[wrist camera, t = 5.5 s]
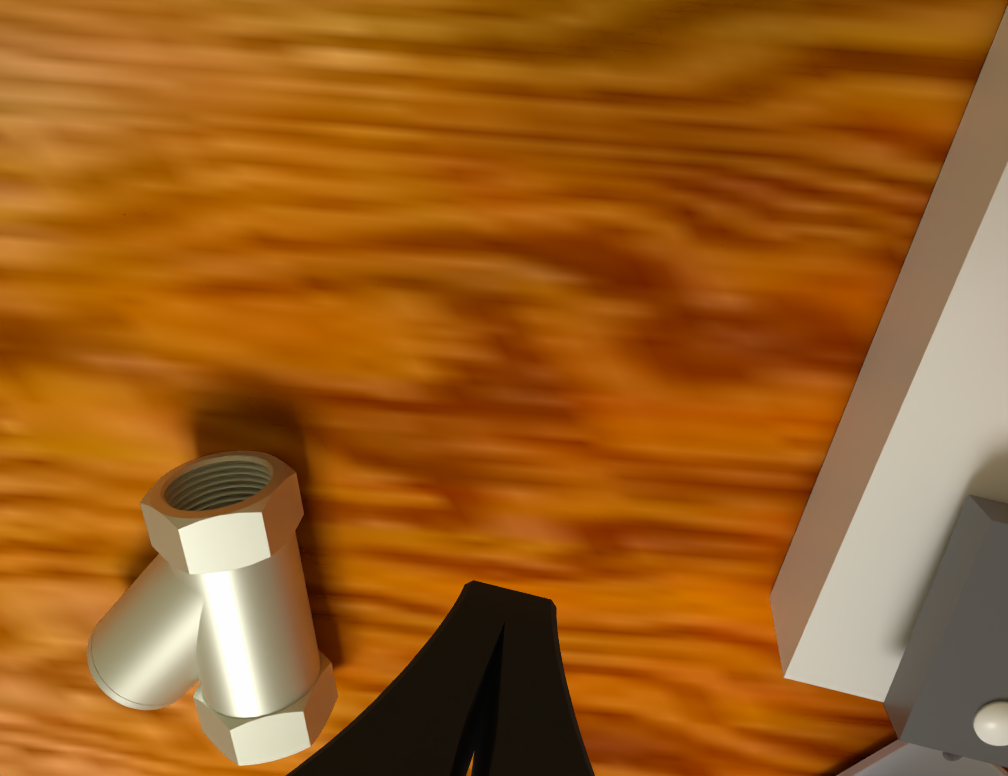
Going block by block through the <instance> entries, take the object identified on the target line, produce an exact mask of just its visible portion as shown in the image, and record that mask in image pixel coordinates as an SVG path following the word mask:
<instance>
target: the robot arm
mask: <svg viewBox="0 0 1008 776" xmlns="http://www.w3.org/2000/svg"><path fill="white" fill-rule="evenodd" d="M474 750H475V751H474ZM473 753H474V758H473V766H472V773H471V776H595V775H594V772H593V769H592V766H591V764H590V761H589V758H588V755H587V752H586V749H585V746H584V743H583V740H582V737H581V734H580V730H579V727H578V724H577V720H576V717H575V713H574V709H573V705H572V701H571V698H570V694H569V690H568V686H567V682H566V677H565V673H564V668H563V663H562V657H561V652H560V646H559V639H558V631H557V618H556V606H555V605H554V603H553V602H552V600H551V599H547V598H543V597H539V596H535V595H530V594H526V593H522V592H518V591H514V590H510V589H506V588H502V587H498V586H494V585H490V584H486V583H482V582H478V581H474V580H473V581H471V582H469V583H467V584H465V585H464V588H463V590H462V592H461V594H460V596H459V597H458V599H457V601H456V602H455V604H454V606H453V607H452V609H451V610H450V612H449V613H448V615H447V616H446V618H445V619H444V621H443V622H442V623H441V625H440V626H439V627H438V629H437V630H436V631H435V633H434V634H433V635H432V637H431V638H430V639H429V640H428V642H427V643H426V644H425V645H424V646H423V648H422V649H421V650H420V651H419V652H418V654H417V655H416V656H415V657H414V659H413V660H412V661H411V662H410V663H409V664H408V666H407V667H406V668H405V669H404V670H403V671H402V672H401V673H400V674H399V675H398V676H397V678H396V679H395V680H394V681H393V682H392V683H391V684H390V685H389V686H388V687H387V688H386V689H385V690H384V691H383V692H382V693H381V694H380V695H379V696H378V697H377V699H376V700H375V701H374V702H373V703H372V704H371V705H369V706H368V707H367V708H366V709H365V710H364V711H363V712H362V713H361V714H360V715H359V716H358V717H357V718H356V719H355V720H354V721H352V722H351V723H350V724H349V725H348V726H347V727H346V728H345V729H343V730H342V731H341V732H340V733H339V734H338V735H337V736H335V737H334V738H333V739H332V740H331V741H330V742H328V743H327V744H326V745H325V746H323V747H322V748H321V749H320V750H318V751H317V752H316V753H315V754H313V755H312V756H311V757H309V758H308V759H307V760H306V761H304V762H303V763H302V764H301V765H299V766H298V767H297V768H295V769H294V770H293V771H291V772H290V773H289V774H287V775H286V776H466V774H467V771H468V768H469V765H470V762H471V759H472V756H473ZM836 776H1008V772H1007V771H1006V770H1005V769H1003V768H1002V767H1001V766H999V765H995V764H991V763H987V762H983V761H979V760H975V759H971V758H967V757H963V756H959V755H955V754H951V753H947V752H943V751H939V750H935V749H931V748H927V747H923V746H919V745H915V744H911V743H907V742H903V741H899V739H898V740H896V741H894V742H893V743H891V744H889V745H888V746H886V747H884V748H882V749H881V750H879V751H877V752H876V753H874V754H872V755H870V756H869V757H867V758H865V759H864V760H862V761H860V762H859V763H857V764H855V765H853V766H852V767H850V768H848V769H847V770H845V771H843V772H841V773H840V774H838V775H836Z"/></svg>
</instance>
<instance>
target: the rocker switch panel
mask: <svg viewBox="0 0 1008 776" xmlns="http://www.w3.org/2000/svg"><path fill="white" fill-rule="evenodd" d="M968 495H973V496H978V497H982V498H986V499H991V500H995V501H999V502H1003V503H1008V6H1007V8H1006V11H1005V13H1004V16H1003V18H1002V20H1001V23H1000V25H999V28H998V30H997V33H996V35H995V38H994V40H993V43H992V45H991V48H990V50H989V53H988V55H987V58H986V60H985V63H984V65H983V68H982V70H981V73H980V75H979V78H978V80H977V83H976V85H975V88H974V90H973V93H972V95H971V98H970V100H969V102H968V105H967V107H966V110H965V112H964V115H963V117H962V120H961V122H960V125H959V127H958V130H957V132H956V135H955V137H954V140H953V142H952V145H951V147H950V150H949V152H948V155H947V157H946V160H945V162H944V165H943V167H942V170H941V172H940V175H939V177H938V180H937V182H936V184H935V187H934V189H933V192H932V194H931V197H930V199H929V202H928V204H927V207H926V209H925V212H924V214H923V217H922V219H921V222H920V224H919V227H918V229H917V232H916V234H915V237H914V239H913V242H912V244H911V247H910V249H909V252H908V254H907V257H906V259H905V261H904V264H903V266H902V269H901V271H900V274H899V276H898V279H897V281H896V284H895V286H894V289H893V291H892V294H891V296H890V299H889V301H888V304H887V306H886V309H885V311H884V314H883V316H882V319H881V321H880V324H879V326H878V329H877V331H876V334H875V336H874V339H873V341H872V343H871V346H870V348H869V351H868V353H867V356H866V358H865V361H864V363H863V366H862V368H861V371H860V373H859V376H858V378H857V381H856V383H855V386H854V388H853V391H852V393H851V396H850V398H849V401H848V403H847V406H846V408H845V411H844V413H843V416H842V418H841V421H840V423H839V425H838V428H837V430H836V433H835V435H834V438H833V440H832V443H831V445H830V448H829V450H828V453H827V455H826V458H825V460H824V463H823V465H822V468H821V470H820V473H819V475H818V478H817V480H816V483H815V485H814V488H813V490H812V493H811V495H810V498H809V500H808V503H807V505H806V507H805V510H804V512H803V515H802V517H801V520H800V522H799V525H798V527H797V530H796V532H795V535H794V537H793V540H792V542H791V545H790V547H789V550H788V552H787V555H786V557H785V560H784V562H783V565H782V567H781V570H780V572H779V575H778V577H777V580H776V582H775V585H774V587H773V589H772V592H771V594H770V597H769V598H770V604H771V609H772V615H773V621H774V626H775V632H776V637H777V643H778V648H779V654H780V660H781V665H782V671H783V676H784V678H788V679H792V680H796V681H800V682H804V683H808V684H812V685H816V686H820V687H824V688H828V689H832V690H836V691H840V692H844V693H848V694H852V695H856V696H860V697H864V698H868V699H872V700H876V701H880V702H884V700H885V698H886V696H887V693H888V691H889V688H890V686H891V683H892V681H893V678H894V676H895V673H896V671H897V669H898V666H899V664H900V661H901V659H902V656H903V654H904V651H905V649H906V647H907V644H908V642H909V639H910V637H911V634H912V632H913V629H914V627H915V624H916V622H917V620H918V617H919V615H920V612H921V610H922V607H923V605H924V602H925V600H926V597H927V595H928V593H929V590H930V588H931V585H932V583H933V580H934V578H935V575H936V573H937V571H938V568H939V566H940V563H941V561H942V558H943V556H944V553H945V551H946V548H947V546H948V544H949V541H950V539H951V536H952V534H953V531H954V529H955V526H956V524H957V521H958V519H959V517H960V514H961V512H962V509H963V507H964V504H965V502H966V499H967V497H968Z"/></svg>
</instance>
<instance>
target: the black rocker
mask: <svg viewBox="0 0 1008 776" xmlns="http://www.w3.org/2000/svg"><path fill="white" fill-rule="evenodd" d="M883 705H884V707H885V710H886V712H887V714H888V717H889V719H890V721H891V723H892V726H893V728H894V730H895V733H896V735H897V737H898V739H899V741H903V742H907V743H911V744H915V745H919V746H923V747H927V748H931V749H935V750H939V751H943V752H947V753H951V754H955V755H959V756H963V757H967V758H971V759H975V760H979V761H983V762H987V763H991V764H995V765H999V766H1003V767H1007V768H1008V503H1003V502H999V501H995V500H991V499H986V498H982V497H978V496H973V495H968V497H967V499H966V502H965V504H964V507H963V509H962V512H961V514H960V517H959V519H958V521H957V524H956V526H955V529H954V531H953V534H952V536H951V539H950V541H949V544H948V546H947V548H946V551H945V553H944V556H943V558H942V561H941V563H940V566H939V568H938V571H937V573H936V575H935V578H934V580H933V583H932V585H931V588H930V590H929V593H928V595H927V597H926V600H925V602H924V605H923V607H922V610H921V612H920V615H919V617H918V620H917V622H916V624H915V627H914V629H913V632H912V634H911V637H910V639H909V642H908V644H907V647H906V649H905V651H904V654H903V656H902V659H901V661H900V664H899V666H898V669H897V671H896V673H895V676H894V678H893V681H892V683H891V686H890V688H889V691H888V693H887V696H886V698H885V700H884V703H883Z"/></svg>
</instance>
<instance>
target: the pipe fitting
mask: <svg viewBox="0 0 1008 776" xmlns="http://www.w3.org/2000/svg"><path fill="white" fill-rule="evenodd" d="M140 505H141V508H142V512H143V516H144V519H145V523H146V527H147V530H148V534H149V538H150V541H151V545H152V547H153V548H154V549H155V550H156V551H157V552H158V553H159V554H158V555H157V556H156V557H155V559H154V560H153V561H152V562H151V563H150V564H149V565H148V567H147V568H146V569H145V570H144V571H143V572H142V573H141V575H140V576H139V577H138V578H137V579H136V580H135V581H134V582H133V584H132V585H131V586H130V587H129V588H128V589H127V590H126V592H125V593H124V594H123V595H122V596H121V597H120V598H119V600H118V601H117V602H116V603H115V604H114V605H113V606H112V608H111V609H110V610H109V611H108V612H107V613H106V614H105V616H104V617H103V618H102V619H101V620H100V621H99V622H98V624H97V625H96V626H95V628H94V629H93V631H92V633H91V635H90V638H89V641H88V646H87V660H88V665H89V669H90V672H91V674H92V676H93V678H94V680H95V682H96V683H97V685H98V686H99V687H100V688H101V690H102V691H103V692H104V693H105V694H107V695H108V696H109V697H110V698H111V699H113V700H114V701H116V702H118V703H120V704H122V705H124V706H127V707H130V708H134V709H139V710H155V709H160V708H163V707H166V706H169V705H171V704H173V703H174V702H176V701H177V700H179V699H180V698H181V697H182V696H183V695H184V694H185V693H186V692H187V691H188V690H189V689H190V688H191V687H192V686H194V685H195V684H196V683H197V682H198V681H199V680H200V685H199V687H198V689H197V690H196V692H195V694H194V696H193V698H194V702H195V705H196V709H197V713H198V716H199V720H200V723H201V727H202V731H203V732H204V733H205V735H206V736H207V737H208V738H209V739H210V740H211V742H212V743H213V744H214V745H215V746H216V747H217V748H218V749H219V750H220V751H221V752H222V753H223V754H224V755H225V756H226V757H228V758H229V759H230V760H231V761H233V762H234V763H236V764H237V765H238V766H243V765H253V764H260V763H265V762H270V761H274V760H278V759H281V758H284V757H287V756H290V755H293V754H295V753H298V752H300V751H302V750H304V749H306V748H309V747H311V745H312V744H313V743H314V741H315V740H316V739H317V737H318V736H319V734H320V733H321V731H322V729H323V728H324V726H325V724H326V722H327V720H328V718H329V716H330V714H331V712H332V710H333V707H334V705H335V702H336V700H337V697H338V694H337V689H336V683H335V678H334V672H333V667H332V662H331V661H330V660H329V659H328V658H327V657H326V656H325V655H324V654H323V653H322V652H320V651H319V650H318V646H317V641H316V636H315V631H314V625H313V620H312V615H311V610H310V605H309V599H308V594H307V589H306V584H305V579H304V573H303V568H302V563H301V558H300V553H299V548H298V542H297V537H296V532H295V530H296V528H297V527H298V525H299V523H300V521H301V519H302V517H303V515H304V511H303V506H302V500H301V495H300V490H299V484H298V479H297V473H296V472H295V471H294V470H293V469H292V468H291V467H289V466H288V465H287V464H286V463H284V462H283V461H281V460H279V459H278V458H276V457H275V456H272V455H270V454H268V453H265V452H259V451H246V450H240V451H227V452H221V453H215V454H211V455H207V456H203V457H200V458H197V459H194V460H191V461H189V462H186V463H184V464H182V465H180V466H178V467H176V468H174V469H172V470H171V471H169V472H168V473H166V474H165V475H164V476H163V477H161V478H160V479H159V480H158V481H157V482H156V483H155V484H154V485H153V487H152V488H151V489H150V490H149V491H148V493H147V494H146V495H145V497H144V498H143V499H142V501H141V502H140Z"/></svg>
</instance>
